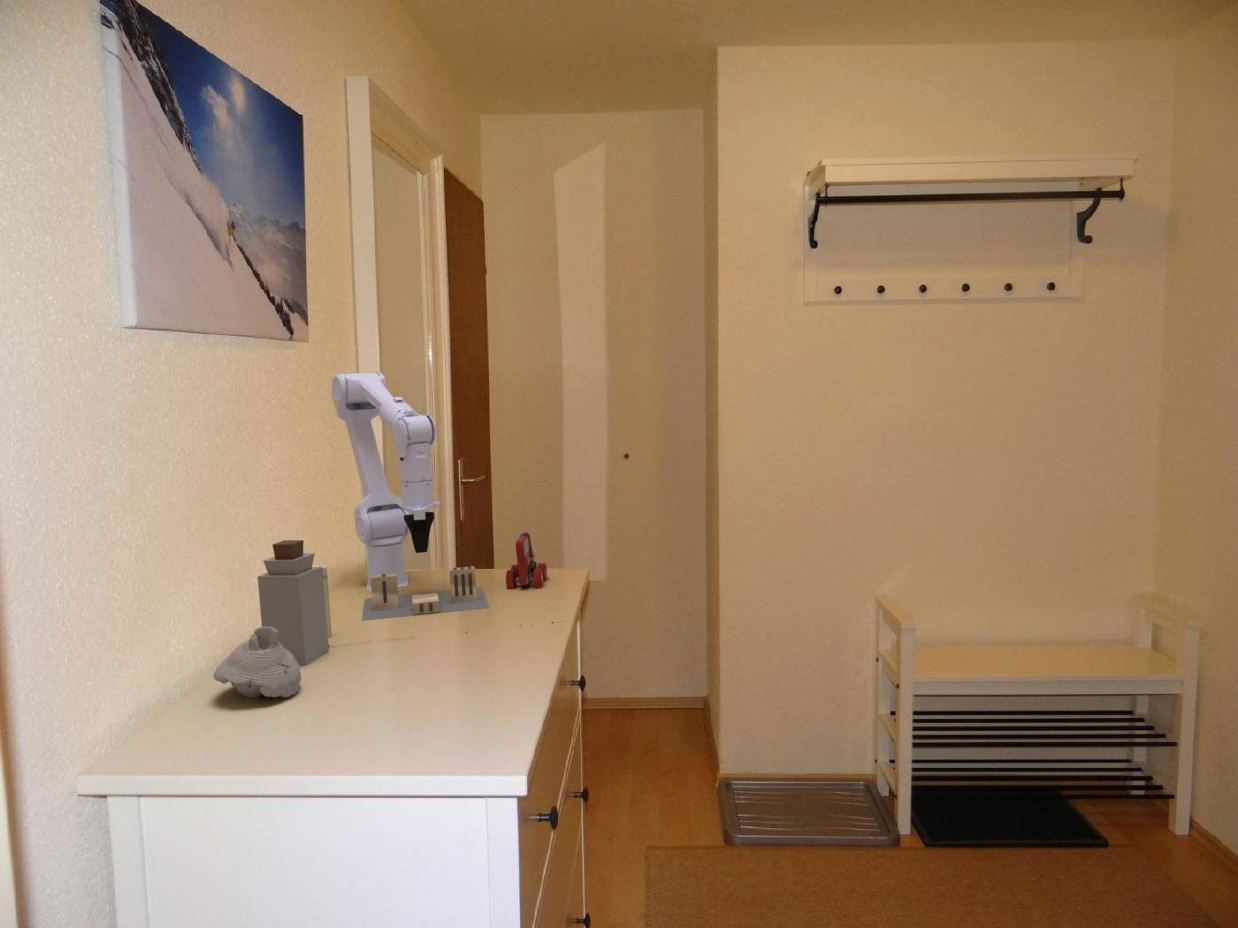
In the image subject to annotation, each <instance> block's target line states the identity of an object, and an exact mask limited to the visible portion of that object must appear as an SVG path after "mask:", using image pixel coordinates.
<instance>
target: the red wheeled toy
mask: <svg viewBox="0 0 1238 928" xmlns="http://www.w3.org/2000/svg"><path fill="white" fill-rule="evenodd" d="M515 553H516V563H515V564H512V565H511V567H510V569H507V570H506V573H505V583H506V584H505V586H506V589H507V590H513V589H515V588H516V587H517V585H518V584H519V586H522V587H525V586H526V587H527V586H530V583H533V584H532V585H533V589H542V588H543V586H544V583H545V582H547V580H548V567H547V564H546V563H545V562H539V563H538V564H537V561H535V552H534V550H533V544H532V541H531V535H530V533H528V532H526V531H525V532H522V533H520V535H519V537H518V538H517V540H516V541H515Z"/></svg>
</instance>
